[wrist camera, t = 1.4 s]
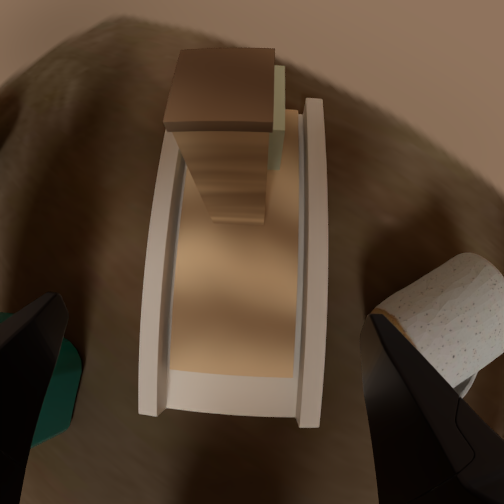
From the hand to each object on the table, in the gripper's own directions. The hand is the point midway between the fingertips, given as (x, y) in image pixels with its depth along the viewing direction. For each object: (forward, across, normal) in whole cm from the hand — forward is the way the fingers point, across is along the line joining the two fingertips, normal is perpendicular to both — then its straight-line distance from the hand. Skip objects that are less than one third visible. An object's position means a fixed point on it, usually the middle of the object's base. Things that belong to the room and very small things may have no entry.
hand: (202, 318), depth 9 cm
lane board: (+12, 0, +6) cm, 14 cm away
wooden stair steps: (+13, 0, +5) cm, 13 cm away
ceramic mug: (+8, -14, +11) cm, 19 cm away
